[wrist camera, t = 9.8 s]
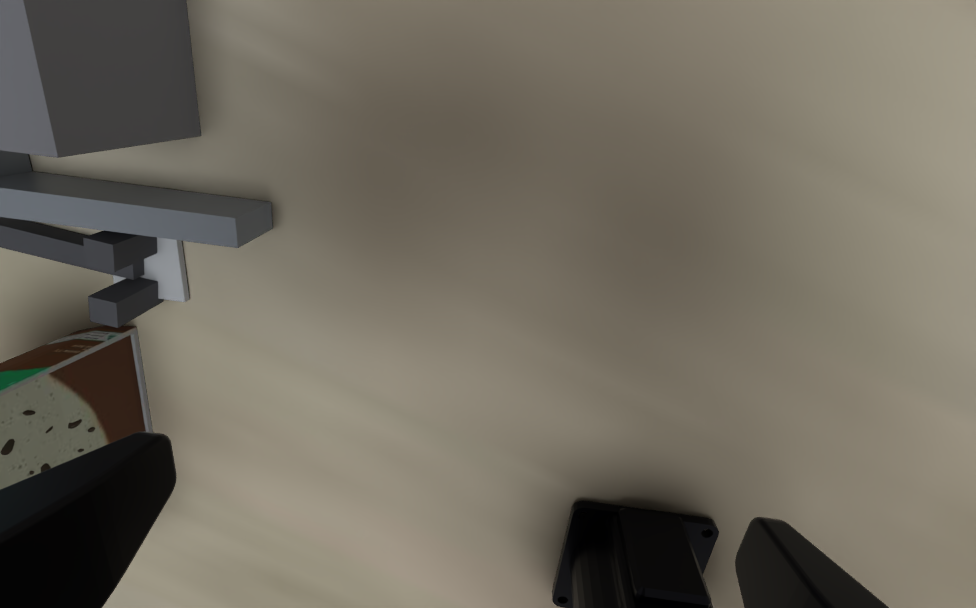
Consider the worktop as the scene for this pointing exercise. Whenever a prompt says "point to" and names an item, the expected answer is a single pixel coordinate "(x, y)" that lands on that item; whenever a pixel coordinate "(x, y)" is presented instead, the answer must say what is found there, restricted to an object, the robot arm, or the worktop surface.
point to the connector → (94, 75)
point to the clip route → (109, 265)
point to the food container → (70, 400)
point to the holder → (128, 206)
